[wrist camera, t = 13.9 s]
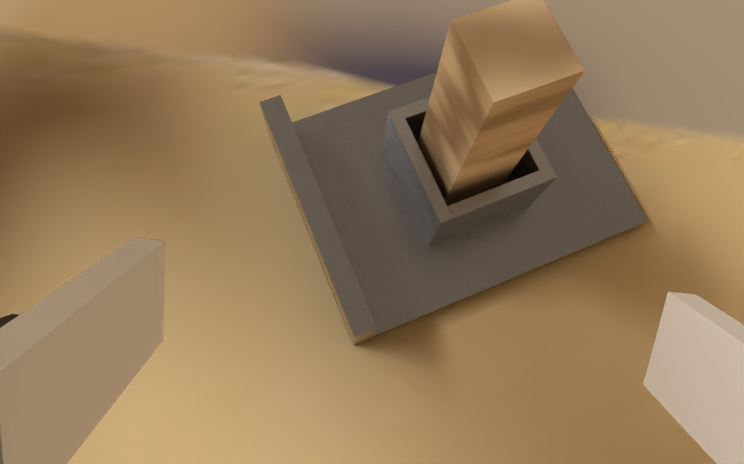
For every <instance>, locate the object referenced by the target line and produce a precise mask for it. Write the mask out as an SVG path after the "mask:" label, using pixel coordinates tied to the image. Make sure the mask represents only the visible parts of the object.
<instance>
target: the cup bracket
mask: <svg viewBox="0 0 744 464" xmlns="http://www.w3.org/2000/svg"><path fill="white" fill-rule="evenodd" d="M436 74H437V72H436V73H433V74H430V75H427V76H424V77H421V78H419V79H416V80H413V81H410V82H407V83H404V84H401V85H399V86H396V87H393V88H390V89H387V90H384V91H381V92H379V93H376V94H373V95H370V96H367V97H364V98H361V99H359V100H356V101H353V102H350V103H347V104H344V105H341V106H339V107H336V108H333V109H330V110H327V111H324V112H321V113H319V114H316V115H313V116H310V117H307V118H304V119H301V120H299V121H296V122H293V123H292V122H291V120H290V117H289V115H288V112H287V110H286V108H285V105H284V103H283V100H282V98H281V96H280V95H279V96H276V97H273V98H270V99H268V100H265V101H262V102H260V105H261V109H262V112H263V115H264V119H265V122H266V125H267V129H268V132H269V135H270V138H271V141H272V143H273V146H274V148H275V151H276V153H277V156H278V158H279V161H280V163H281V166H282V168H283V171H284V173H285V176H286V178H287V181H288V183H289V186H290V188H291V191H292V193H293V196H294V198H295V200H296V203H297V205H298V208H299V210H300V213H301V215H302V218H303V220H304V223H305V225H306V228H307V230H308V233H309V235H310V238H311V240H312V243H313V245H314V248H315V250H316V253H317V255H318V258H319V260H320V263H321V265H322V268H323V270H324V273H325V275H326V278H327V280H328V283H329V285H330V288H331V290H332V293H333V295H334V298H335V300H336V303H337V305H338V308H339V310H340V313H341V315H342V318H343V320H344V323H345V325H346V328H347V330H348V333H349V335H350V338H351V340H352V343H353V345H356V344H358V343H361V342H363V341H365V340H368V339H370V338H373V337H375V336H377V335H380V334H382V333H384V332H387V331H389V330H392V329H394V328H396V327H399V326H401V325H404V324H406V323H408V322H411V321H413V320H415V319H418V318H420V317H423V316H425V315H427V314H430V313H432V312H435V311H437V310H439V309H442V308H444V307H446V306H449V305H451V304H454V303H456V302H458V301H461V300H463V299H466V298H468V297H470V296H473V295H475V294H477V293H480V292H482V291H485V290H487V289H489V288H492V287H494V286H496V285H499V284H501V283H504V282H506V281H508V280H511V279H513V278H516V277H518V276H520V275H523V274H525V273H527V272H530V271H532V270H535V269H537V268H539V267H542V266H544V265H547V264H549V263H551V262H554V261H556V260H558V259H561V258H563V257H566V256H568V255H570V254H573V253H575V252H578V251H580V250H582V249H585V248H587V247H589V246H592V245H594V244H597V243H599V242H601V241H604V240H606V239H609V238H611V237H613V236H616V235H618V234H620V233H623V232H625V231H628V230H630V229H632V228H635V227H637V226H640V225H642V224H643V223H645V222H647V221H649V220H648V219H647V217H646V215H645V213H644V212H643V210H642V208H641V207H640V205H639V203H638V201H637V200H636V198H635V196H634V194H633V193H632V191H631V189H630V187H629V186H628V184H627V182H626V180H625V179H624V177H623V175H622V174H621V172H620V170H619V168H618V167H617V165H616V163H615V161H614V160H613V158H612V156H611V154H610V153H609V151H608V149H607V148H606V146H605V144H604V142H603V141H602V139H601V137H600V135H599V134H598V132H597V130H596V128H595V127H594V125H593V123H592V122H591V120H590V118H589V116H588V115H587V113H586V111H585V109H584V108H583V106H582V104H581V103H580V101H579V99H578V97H577V96H576V94H575V92H574V90H573V89H571V90H570V91H569V93H568V94H567V96H566V97H565V98H564V100H563V101H562V103H561V104H560V105H559V107H558V108H557V109H556V111H555V112H554V114H553V115H552V116H551V118H550V119H549V120H548V122H547V123H546V125H545V126H544V127H543V129H542V130H541V132H540V133H539V134H538V136H537V137H536V138H535V140H534V141H533V143H532V144H531V145H530V147H529V148H528V150H527V151H526V152H525V154H524V155H523V156H522V158H521V159H520V161H519V162H518V163H517V165H516V166H515V168H514V169H513V170H512V172H511V173H510V174H509V176H508V177H507V179H506V180H505V181H504V183H503V184H502V185H501V186H498V187H495V188H493V189H490V190H488V191H485V192H483V193H480V194H478V195H475V196H472V197H470V198H467V199H465V200H462V201H460V202H457V203H454V204H452V205H449V206H447V205H446V203H445V201H444V198H443V196H442V194H441V192H440V190H439V188H438V186H437V184H436V182H435V180H434V178H433V175H432V173H431V171H430V169H429V167H428V165H427V163H426V161H425V159H424V157H423V154H422V152H421V150H420V148H419V146H418V140H419V137H420V133H421V129H422V126H423V122H424V118H425V115H426V111H427V107H428V103H429V100H430V96H431V92H432V89H433V85H434V81H435V78H436Z"/></svg>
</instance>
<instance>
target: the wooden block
mask: <svg viewBox="0 0 744 464" xmlns="http://www.w3.org/2000/svg"><path fill="white" fill-rule="evenodd" d="M583 72H584V69H583V67H582V66H581V64H580V62H579V60H578V59H577V57H576V55H575V53H574V52H573V50H572V48H571V46H570V45H569V43H568V41H567V39H566V38H565V36H564V34H563V32H562V31H561V29H560V27H559V25H558V24H557V22H556V20H555V18H554V17H553V15H552V13H551V11H550V10H549V8H548V6H547V5H546V3H545V1H544V0H511V1H507V2H505V3H501V4H498V5H495V6H492V7H489V8H486V9H483V10H479V11H477V12H473V13H470V14H467V15H464V16H461V17H458V18H455V19H452V20H451V23H450V26H449V30H448V34H447V38H446V41H445V45H444V48H443V52H442V56H441V59H440V63H439V67H438V70H437V74H436V78H435V81H434V85H433V89H432V92H431V96H430V100H429V103H428V107H427V111H426V115H425V118H424V122H423V126H422V129H421V133H420V137H419V140H418V146H419V148H420V150H421V152H422V154H423V157H424V159H425V161H426V163H427V165H428V167H429V169H430V171H431V173H432V175H433V178H434V180H435V182H436V184H437V186H438V188H439V190H440V192H441V194H442V196H443V198H444V201H445V203H446V205H447V206H449V205H452V204H454V203H457V202H460V201H462V200H465V199H467V198H470V197H472V196H475V195H478V194H480V193H483V192H485V191H488V190H490V189H493V188H495V187H498V186H501V185H502V184H503V183H504V181H505V180H506V179H507V177H508V176H509V174H510V173H511V172H512V170H513V169H514V168H515V166H516V165H517V163H518V162H519V161H520V159H521V158H522V156H523V155H524V154H525V152H526V151H527V150H528V148H529V147H530V145H531V144H532V143H533V141H534V140H535V138H536V137H537V136H538V134H539V133H540V132H541V130H542V129H543V127H544V126H545V125H546V123H547V122H548V120H549V119H550V118H551V116H552V115H553V114H554V112H555V111H556V109H557V108H558V107H559V105H560V104H561V103H562V101H563V100H564V98H565V97H566V96H567V94H568V93H569V91H570V90H571V89H572V87H573V86H574V84H575V83H576V82H577V80H578V79H579V77H580V76H581V75H582V73H583Z"/></svg>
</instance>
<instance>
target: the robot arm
mask: <svg viewBox="0 0 744 464" xmlns="http://www.w3.org/2000/svg"><path fill="white" fill-rule="evenodd" d="M164 243H165V241H161V240H151V239H142V238H133V239H131V240H130V241H128V242H127V243H125V244H124V245H122V246H121V247H119V248H118V249H116V250H115V251H113V252H112V253H111V254H109V255H108V256H106V257H105V258H103V259H102V260H100V261H99V262H97V263H96V264H94V265H93V266H91V267H90V268H88V269H87V270H85V271H84V272H82V273H81V274H79V275H78V276H76V277H75V278H73V279H72V280H71V281H69V282H68V283H66V284H65V285H63V286H62V287H60V288H59V289H57V290H56V291H54V292H53V293H51V294H50V295H48V296H47V297H45V298H44V299H42V300H41V301H39V302H38V303H36V304H35V305H34V306H32V307H31V308H29V309H28V310H26V311H25V312H23V313H22V314H20V315H17V314H11V315H8V316H5V317H3V318H0V464H67V463H68V462H69V460H70V459H71V458H72V456H73V455H74V454H75V453H76V451H77V450H78V449H79V447H80V446H81V445H82V444H83V442H84V441H85V440H86V438H87V437H88V436H89V435H90V433H91V432H92V431H93V429H94V428H95V427H96V426H97V424H98V423H99V422H100V420H101V419H102V418H103V417H104V415H105V414H106V413H107V411H108V410H109V409H110V408H111V406H112V405H113V404H114V402H115V401H116V400H117V399H118V397H119V396H120V395H121V393H122V392H123V391H124V390H125V388H126V387H127V386H128V384H129V383H130V382H131V381H132V379H133V378H134V377H135V375H136V374H137V373H138V372H139V370H140V369H141V368H142V366H143V365H144V364H145V363H146V361H147V360H148V359H149V357H150V356H151V355H152V354H153V352H154V351H155V350H156V348H157V347H158V346H159V345H160V343H161V342H162V341H163V310H164ZM643 385H644V386H645V387H646V388H647V389H648V390H649V392H650V393H651V394H652V395H653V396H654V397H655V398H656V399H657V400H658V401H659V402H660V403H661V404H662V406H663V407H664V408H665V409H666V410H667V411H668V412H669V413H670V414H671V415H672V416H673V417H674V418H675V420H676V421H677V422H678V423H679V424H680V425H681V426H682V427H683V428H684V429H685V430H686V431H687V432H688V434H689V435H690V436H691V437H692V438H693V439H694V440H695V441H696V442H697V443H698V444H699V445H700V447H701V448H702V449H703V450H704V451H705V452H706V453H707V454H708V455H709V456H710V457H711V458H712V459H713V461H714V462H715V463H716V464H744V325H743V324H742V323H740V322H739V321H737V320H735V319H734V318H732V317H731V316H729V315H728V314H726V313H724V312H723V311H721V310H720V309H718V308H717V307H715V306H713V305H712V304H710V303H709V302H707V301H706V300H704V299H702V298H701V297H699V296H698V295H696V294H686V293H676V292H668V294H667V297H666V301H665V305H664V309H663V312H662V316H661V320H660V324H659V327H658V331H657V335H656V339H655V343H654V346H653V350H652V354H651V358H650V361H649V365H648V369H647V373H646V376H645V380H644V384H643Z"/></svg>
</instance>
